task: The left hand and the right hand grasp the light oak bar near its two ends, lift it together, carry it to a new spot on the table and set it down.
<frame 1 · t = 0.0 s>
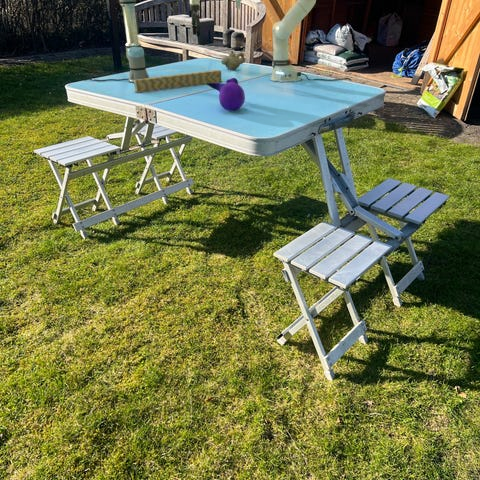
left hand: (196, 35, 349), 28 cm above the table, tool pointing down, fingers open, 13 cm apart
right hand: (238, 8, 308), 48 cm above the table, tool pointing down, fingers open, 8 cm apart
bar: (180, 86, 319), on the table
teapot: (233, 70, 373), on the table
toy: (227, 108, 264), on the table
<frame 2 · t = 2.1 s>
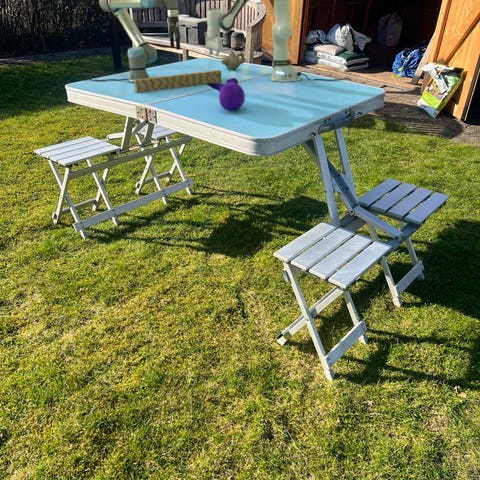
left hand: (175, 48, 330), 22 cm above the table, tool pointing down, fingers open, 13 cm apart
right hand: (214, 55, 322), 19 cm above the table, tool pointing down, fingers open, 8 cm apart
nothing on the table moved.
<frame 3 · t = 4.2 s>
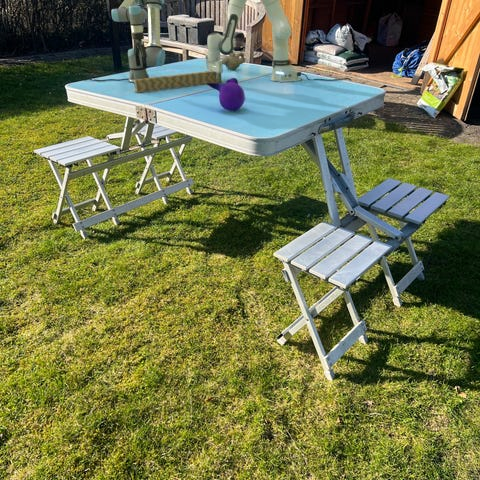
left hand: (141, 67, 302), 15 cm above the table, tool pointing down, fingers open, 13 cm apart
right hand: (215, 77, 329), 3 cm above the table, tool pointing down, fingers closed on bar, 4 cm apart
bar: (180, 86, 319), on the table, touching right hand
everything else where it was.
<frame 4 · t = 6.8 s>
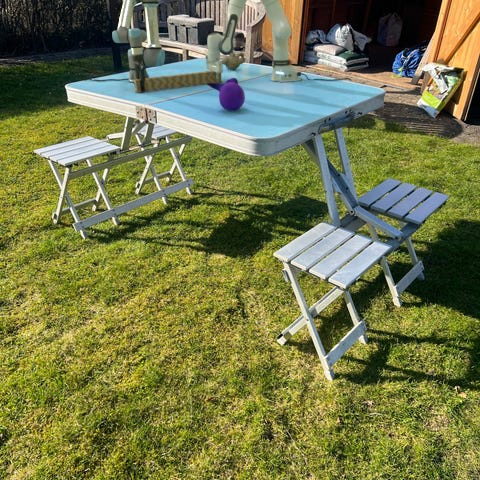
left hand: (142, 90, 307), 1 cm above the table, tool pointing down, fingers closed on bar, 4 cm apart
right hand: (215, 77, 329), 3 cm above the table, tool pointing down, fingers closed on bar, 4 cm apart
bar: (180, 86, 319), on the table, touching left hand, right hand
everything else where it was.
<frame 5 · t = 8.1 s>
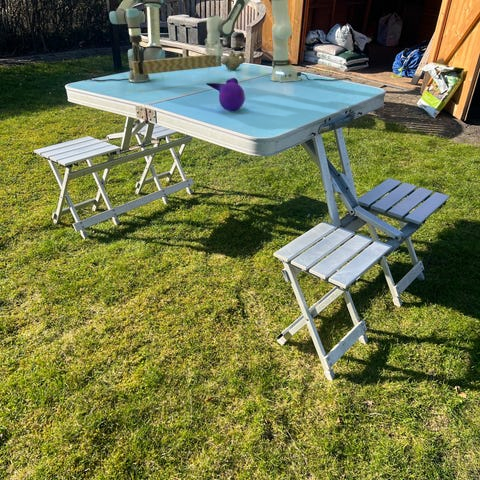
left hand: (140, 73, 302), 12 cm above the table, tool pointing down, fingers closed on bar, 4 cm apart
right hand: (214, 61, 324), 14 cm above the table, tool pointing down, fingers closed on bar, 4 cm apart
bar: (179, 70, 314), point 11 cm above the table, touching left hand, right hand
everything else where it was.
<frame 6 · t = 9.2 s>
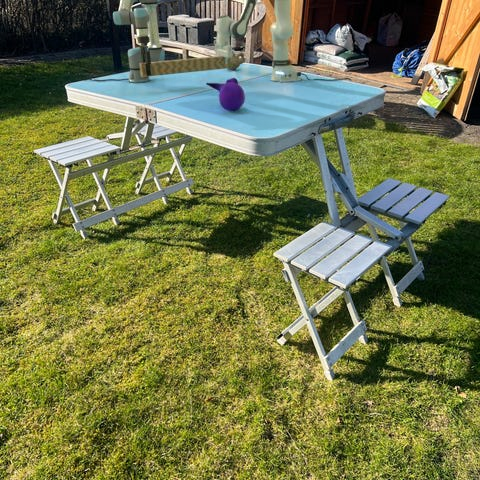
left hand: (147, 74, 293), 13 cm above the table, tool pointing down, fingers closed on bar, 4 cm apart
right hand: (224, 63, 315), 15 cm above the table, tool pointing down, fingers closed on bar, 4 cm apart
bar: (187, 71, 305), point 12 cm above the table, touching left hand, right hand
everything else where it was.
when the left hand's fingers open (2 cm above the table, at t = 12.0 s): bar drops 1 cm, on the table.
when the right hand's fingers open (4 cm above the table, at t = 12.2 s): bar stays where it is, on the table.
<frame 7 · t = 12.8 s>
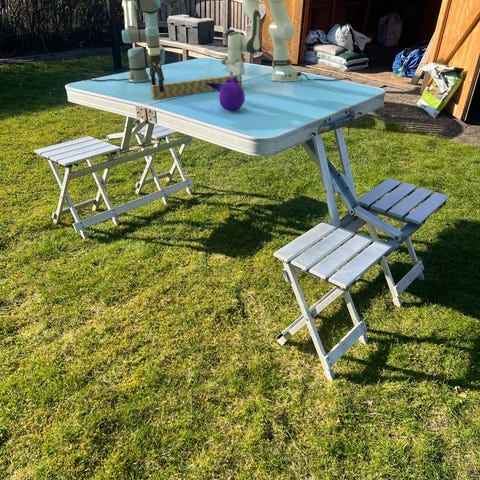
left hand: (158, 90, 288), 5 cm above the table, tool pointing down, fingers open, 13 cm apart
right hand: (235, 79, 311), 5 cm above the table, tool pointing down, fingers open, 8 cm apart
bar: (198, 92, 302), on the table
everything else where it was.
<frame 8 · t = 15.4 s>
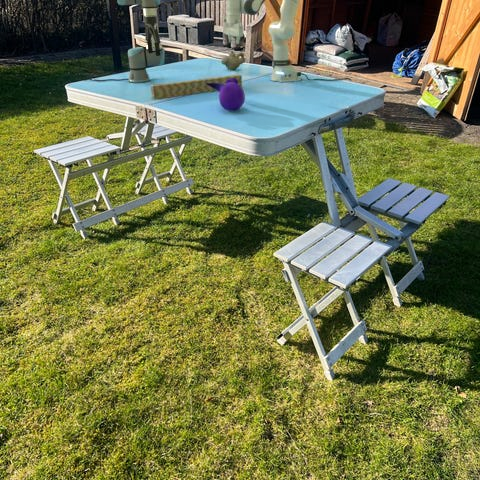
left hand: (154, 54, 277), 26 cm above the table, tool pointing down, fingers open, 13 cm apart
right hand: (234, 43, 299), 29 cm above the table, tool pointing down, fingers open, 8 cm apart
nothing on the table moved.
at the end: bar inside the target area (0.2 cm from its centre), on the table; bar tilted 0°; bar never tilted more than 2° during the clip; both hands held the bar at the same time; the left hand is holding nothing; the right hand is holding nothing; bar at rest at the end (0.0 cm/s) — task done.
